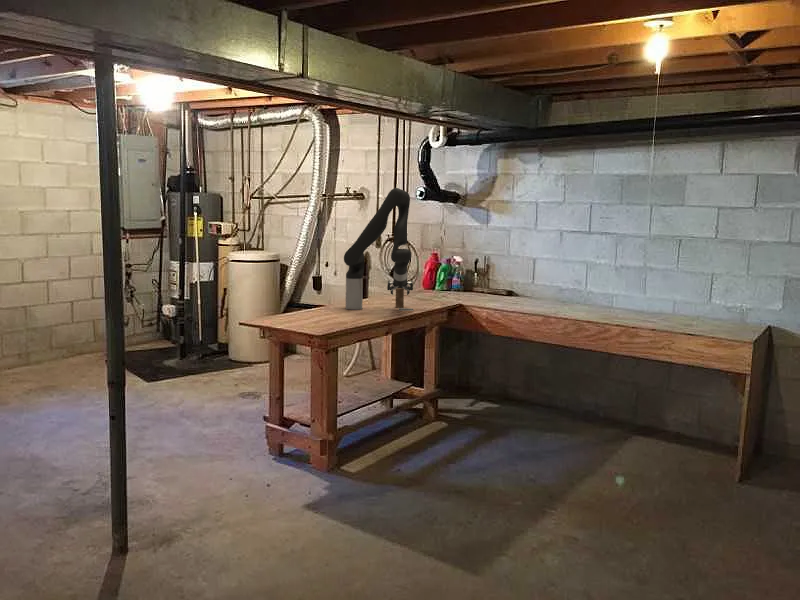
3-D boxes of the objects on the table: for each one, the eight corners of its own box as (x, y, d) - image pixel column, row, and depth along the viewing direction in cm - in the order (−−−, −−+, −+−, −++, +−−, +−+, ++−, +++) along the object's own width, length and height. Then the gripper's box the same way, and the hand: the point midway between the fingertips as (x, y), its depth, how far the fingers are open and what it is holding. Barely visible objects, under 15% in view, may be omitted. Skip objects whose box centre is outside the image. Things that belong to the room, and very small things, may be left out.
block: (395, 307, 378) (395, 288, 377) (395, 306, 383) (395, 287, 381) (403, 308, 378) (403, 288, 377) (403, 306, 383) (403, 287, 381)
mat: (399, 310, 368) (399, 310, 368) (398, 308, 376) (398, 308, 376) (413, 310, 369) (413, 310, 369) (412, 308, 377) (412, 308, 377)
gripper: (413, 270, 366) (412, 288, 379) (387, 270, 366) (387, 288, 379) (413, 280, 362) (412, 299, 375) (387, 280, 361) (387, 298, 374)
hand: (399, 293), depth 377 cm, fingers open, 8 cm apart
